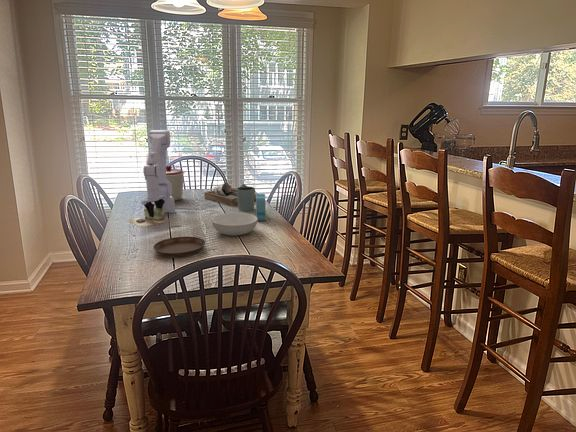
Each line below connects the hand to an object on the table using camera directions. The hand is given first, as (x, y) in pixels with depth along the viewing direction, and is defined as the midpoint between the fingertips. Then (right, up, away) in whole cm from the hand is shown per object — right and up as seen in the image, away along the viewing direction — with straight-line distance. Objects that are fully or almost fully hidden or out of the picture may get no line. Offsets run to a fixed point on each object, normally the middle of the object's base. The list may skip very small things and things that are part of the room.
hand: (155, 215), depth 218 cm
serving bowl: (+42, -8, -17) cm, 46 cm away
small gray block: (-6, -3, -5) cm, 8 cm away
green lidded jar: (+43, +3, +24) cm, 50 cm away
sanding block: (-1, -1, +1) cm, 2 cm away
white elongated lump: (+33, +10, +48) cm, 59 cm away
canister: (-5, +10, +47) cm, 48 cm away
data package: (+53, -2, +5) cm, 53 cm away
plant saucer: (+22, -15, -40) cm, 48 cm away
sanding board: (-3, -4, -2) cm, 5 cm away
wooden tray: (+31, +10, +46) cm, 57 cm away
